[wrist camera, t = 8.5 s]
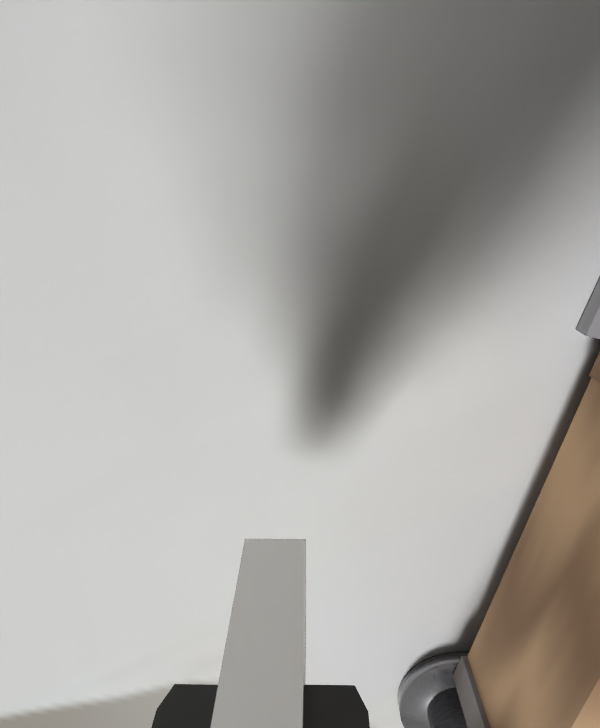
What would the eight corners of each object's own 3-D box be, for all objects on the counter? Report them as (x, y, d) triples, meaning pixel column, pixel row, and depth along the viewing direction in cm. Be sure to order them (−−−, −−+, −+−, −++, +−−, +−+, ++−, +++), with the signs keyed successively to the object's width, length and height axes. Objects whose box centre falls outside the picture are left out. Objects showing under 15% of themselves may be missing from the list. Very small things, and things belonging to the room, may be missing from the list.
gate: (500, 685, 19) (580, 898, 14) (452, 676, 19) (513, 886, 13) (669, 336, 15) (893, 435, 9) (608, 321, 15) (796, 413, 9)
